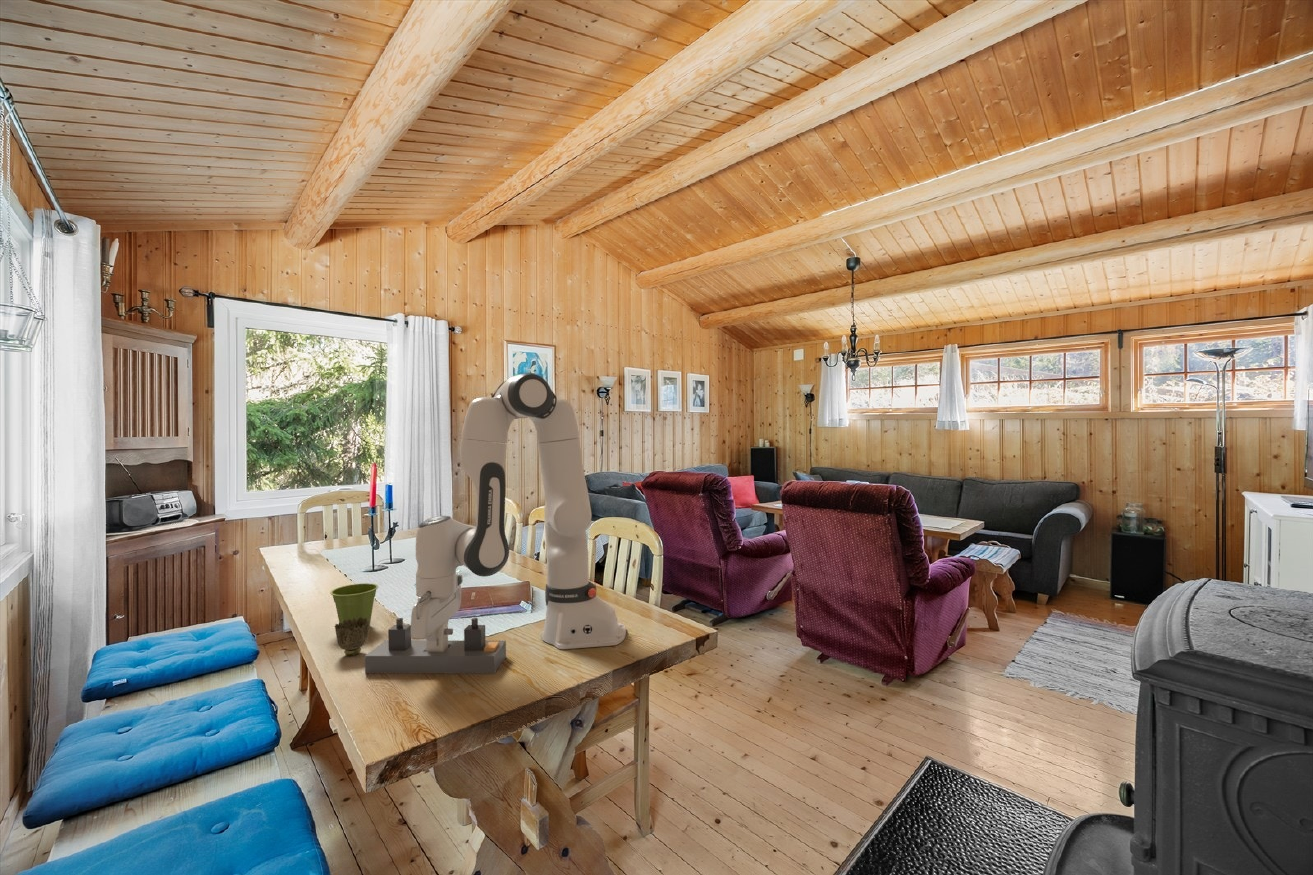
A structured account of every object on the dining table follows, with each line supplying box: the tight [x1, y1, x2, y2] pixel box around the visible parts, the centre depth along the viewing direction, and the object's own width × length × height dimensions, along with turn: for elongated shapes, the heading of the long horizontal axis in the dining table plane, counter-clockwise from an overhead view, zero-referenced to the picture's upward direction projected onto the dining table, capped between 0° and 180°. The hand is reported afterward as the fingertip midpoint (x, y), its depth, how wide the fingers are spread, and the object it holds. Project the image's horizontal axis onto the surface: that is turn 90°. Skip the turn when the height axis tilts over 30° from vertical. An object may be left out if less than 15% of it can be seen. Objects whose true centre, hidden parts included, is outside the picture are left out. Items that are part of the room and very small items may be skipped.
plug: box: [425, 620, 454, 652], centre depth 131 cm, size 6×3×8 cm, turn 89°
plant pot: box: [330, 582, 379, 628], centre depth 155 cm, size 12×12×11 cm
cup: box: [334, 617, 369, 657], centre depth 138 cm, size 8×7×8 cm
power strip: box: [364, 617, 507, 674], centre depth 131 cm, size 30×9×11 cm, turn 89°
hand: (437, 643), depth 131 cm, fingers open, 3 cm apart
